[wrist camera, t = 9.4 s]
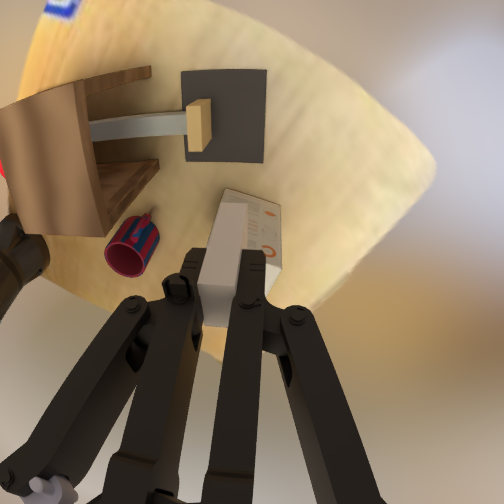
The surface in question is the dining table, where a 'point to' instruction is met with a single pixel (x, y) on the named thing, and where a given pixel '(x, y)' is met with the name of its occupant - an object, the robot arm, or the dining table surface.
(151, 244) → the mug
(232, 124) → the mat
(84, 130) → the tunnel
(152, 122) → the plunger
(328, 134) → the dining table surface
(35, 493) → the robot arm
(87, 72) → the dining table surface
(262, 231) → the small box
